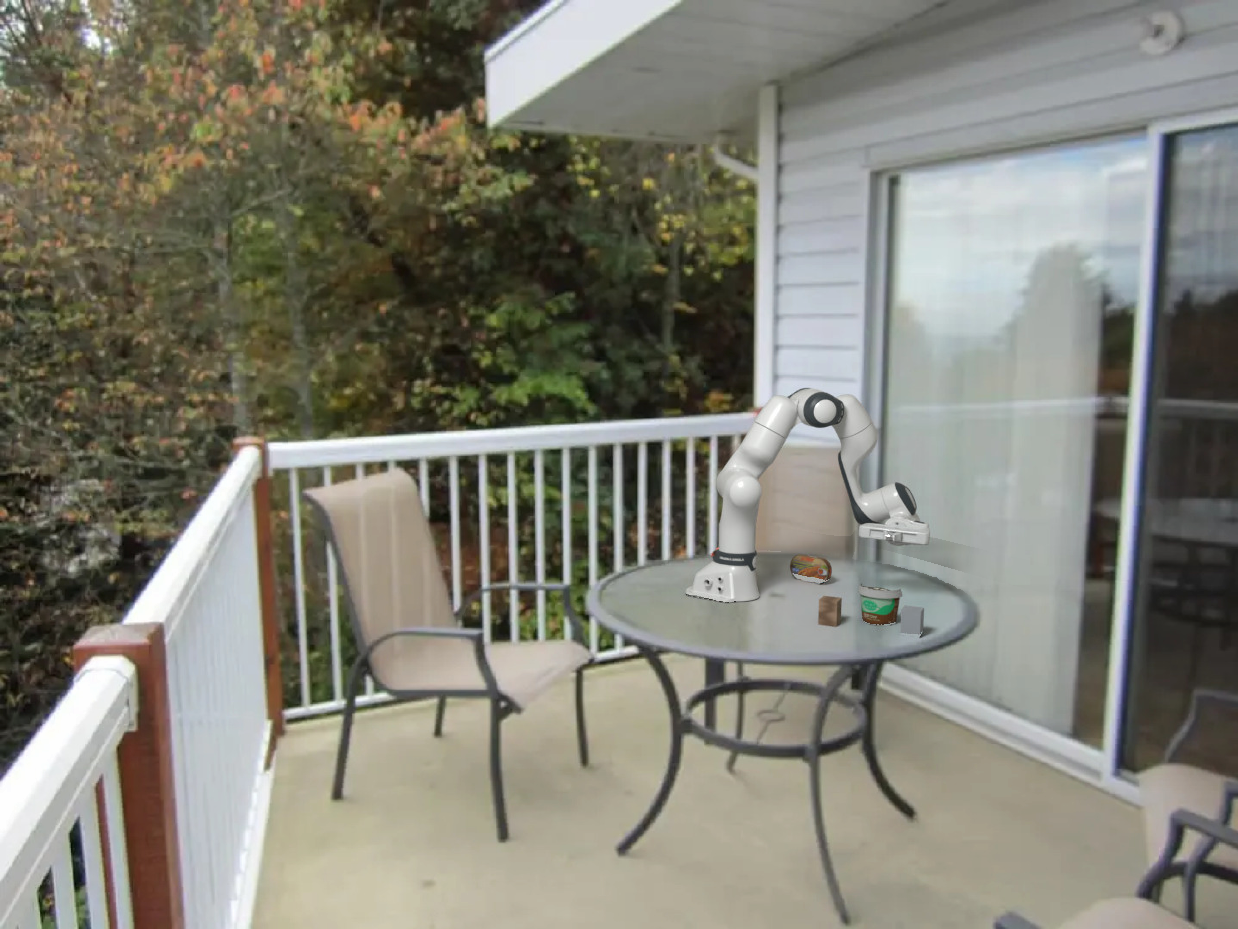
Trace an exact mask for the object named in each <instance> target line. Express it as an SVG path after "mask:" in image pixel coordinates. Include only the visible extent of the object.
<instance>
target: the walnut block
mask: <svg viewBox="0 0 1238 929" xmlns="http://www.w3.org/2000/svg"><path fill="white" fill-rule="evenodd" d="M842 600H843V598H842V597H839V596H830V595H823V596H822V597H821V598H819V599H818V618H817V619H818V620H817V623H818V624H817V625H819V626H826V627H832V628H837V627H838V626H839V625H841V623H842V604H843V603H842Z"/></svg>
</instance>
